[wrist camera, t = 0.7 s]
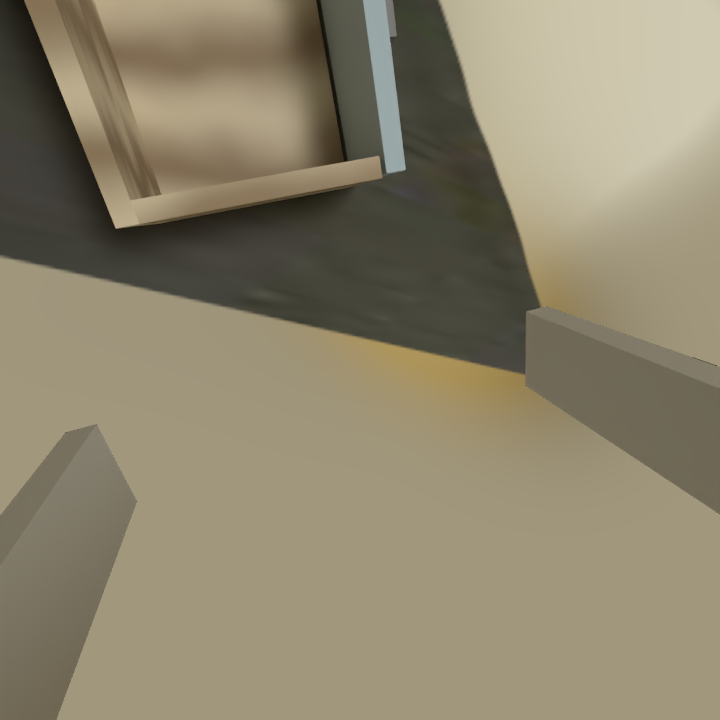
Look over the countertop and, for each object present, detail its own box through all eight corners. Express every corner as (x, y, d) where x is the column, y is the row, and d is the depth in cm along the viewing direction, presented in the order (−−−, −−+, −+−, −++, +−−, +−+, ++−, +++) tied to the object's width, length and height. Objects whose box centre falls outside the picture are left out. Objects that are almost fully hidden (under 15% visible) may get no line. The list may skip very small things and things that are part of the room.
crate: (32, -131, 23) (-133, -391, 13) (284, -142, 26) (305, -368, 16) (159, 223, 31) (115, 228, 21) (343, 188, 33) (382, 178, 23)
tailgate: (292, -164, 24) (313, -359, 16) (324, -165, 24) (361, -357, 16) (351, 183, 32) (386, 173, 23) (375, 179, 32) (418, 167, 24)
